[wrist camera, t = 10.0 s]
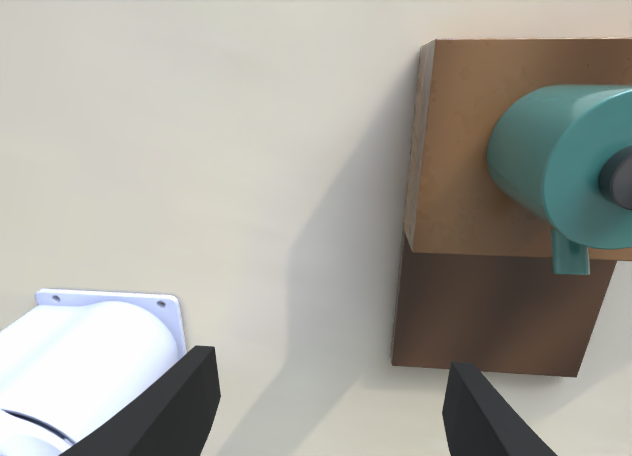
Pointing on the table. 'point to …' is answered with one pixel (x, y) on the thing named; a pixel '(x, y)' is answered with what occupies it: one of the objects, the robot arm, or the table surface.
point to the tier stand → (491, 216)
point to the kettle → (570, 167)
